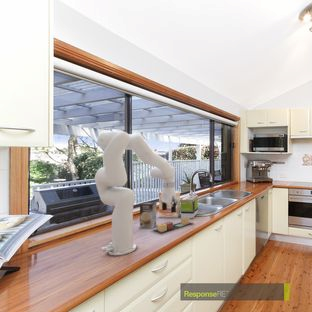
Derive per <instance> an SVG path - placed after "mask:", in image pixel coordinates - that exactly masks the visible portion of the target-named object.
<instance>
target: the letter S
mask: <svg viewBox="0 0 312 312" xmlns="http://www.w3.org/2000/svg"><path fill="white" fill-rule="evenodd" d="M164 223H165V224H167V230H170V229H173V225H174V222H173V221H170V220H169V221H166V222H164Z"/></svg>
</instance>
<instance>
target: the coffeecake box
mask: <svg viewBox="0 0 312 312" xmlns="http://www.w3.org/2000/svg"><path fill="white" fill-rule="evenodd" d="M161 192H162V191H160V192H159V193H158V201H159V202H158V218H179V217H181V191H175V193H176V199H177V200H178V202H177V205H176V212H173V213H171V206H172V205H171V203H166V204H167V210H162V202H161V198H160V197H161ZM173 204H174V203H173Z"/></svg>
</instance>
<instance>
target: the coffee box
mask: <svg viewBox="0 0 312 312" xmlns="http://www.w3.org/2000/svg"><path fill="white" fill-rule="evenodd" d="M157 205H158V204H157V202H150V201H149V202H147V201H144V202H142V203H140V204H139V228H140V229H153V228H155V227H156V226H157Z"/></svg>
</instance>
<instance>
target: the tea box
mask: <svg viewBox="0 0 312 312" xmlns="http://www.w3.org/2000/svg"><path fill="white" fill-rule="evenodd" d="M198 197H199V196H198V195H186V196H184V197H183V198H180V219H181V218H184V217H187V218H189V219H194V218H195V216H197V215H198V213H199V202H198V201H199V200H198V199H199V198H198Z"/></svg>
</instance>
